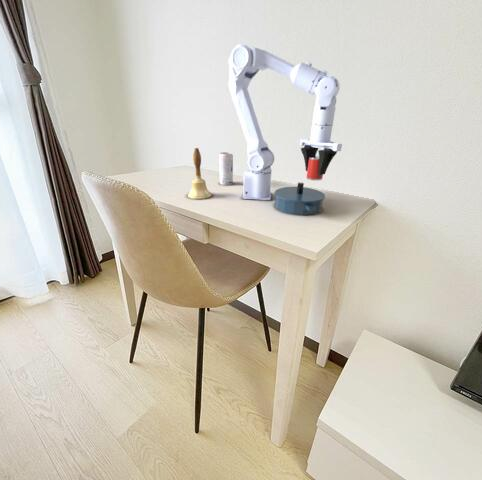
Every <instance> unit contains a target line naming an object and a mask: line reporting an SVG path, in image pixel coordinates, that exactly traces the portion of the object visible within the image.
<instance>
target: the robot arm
mask: <svg viewBox="0 0 482 480" xmlns="http://www.w3.org/2000/svg"><path fill="white" fill-rule="evenodd" d="M227 63H228V66H229V72H228V73H229V74H228V78H229V79H228V89H229V92H230V96H231V99H232V102H233V104H234V107H235V110H236V113H237V116H238V120H239V122H240V125H241V128H242V131H243V135H244V137H245V140H246V143H247V147H246V148H247V149H246V156H247V166H248V168H249V170H244V172H243V185H242V200H243V199H244V200H259V201H271V199H272V192H271V186H272V185H271V183H272V171H273V170H272V168H271V166H273V164H274V162H275V155H274V152H273V151H272V150H271V149H270V147H269V144H268V143H267V142H266V141H265V139H264V137H263V134H262V130H261V128H260V124H259V122H258V121H259V120H258V117H257V116H256V112H255V108H254V105H253V103H252V99H251V96H250V93H249V90H248V87H249V85H250V84H251V81H252V80H253V78H254V77H255V76H256V75H257V74H258V73H259V71H265V70H267V69H269V70H272V71H274V72H276V73H278V74H280V75H282V76H285V77H288V78H289V79H290V81H291V85H292V87H295V88H297V89H300V90H302V91H303V92H306V93H308V94H310V95H312V96H313V95H315V104H314V109H313V115H312V124H311V129H310V137H309V138H299V139H300V140H299V146H303V147H301V148H300V151H301V153H302V156H303V160H304V166H305V171H306V172H307V169H308V162H309V157H310V156H317V152H318V156H319V175H323V176H324V175H326V172H327V170H328V168H329V166H330V163H331V162H332V160H333V159H334V157H335V156H336V155H337V152H341V151H342V148H343V143H339V142H334V141H332V140H331V137H332V132H333V125H334V119H335V113H336V104H337V96H338V95H339V92H340V88H341V84H340V82H339V80H338V79H337V78H336V77H335V76H334V75H331V74H328V71H327V70H325V69H323V71H322V70H320V69H318V68H316V67H313V66H312V65H313V64H312V63H311V62H310V61H306V62H300V63H299V64H296V65H295V64H293V63H291V62H289V61H286V60H285V59H283V58H281V57H279V56H277V55H275V54H273V53H271V52H269V51H267V50H265V49H262V48H258V47H254V46H250V47H249V46H248V45H246V44H245V43H239V44H236V45H235V46H234V47H233V49H232V51H231V53H230V55H229V58H228V60H227ZM327 74H328V75H327Z"/></svg>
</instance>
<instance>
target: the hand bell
mask: <svg viewBox="0 0 482 480" xmlns="http://www.w3.org/2000/svg"><path fill="white" fill-rule="evenodd" d="M192 159H193V165H194V167H195V179H193V180H191V181H192V182H191V189H190V192H188V194H187V198H189V199H193V200H204V199H209V198H211V197H212V193H211V192H210V191H209V189H208V187H207V183H206V180H205V179H204V178H202V173H201V165H202V155H201V151H200V149H199V147H194V150H193V155H192Z"/></svg>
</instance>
